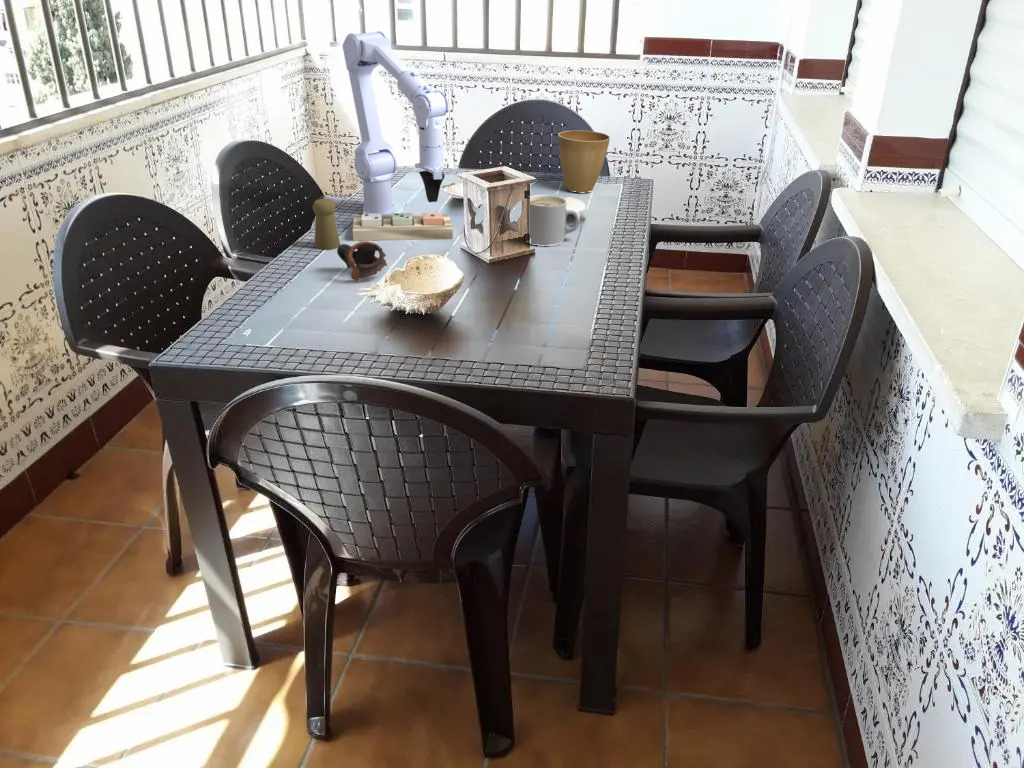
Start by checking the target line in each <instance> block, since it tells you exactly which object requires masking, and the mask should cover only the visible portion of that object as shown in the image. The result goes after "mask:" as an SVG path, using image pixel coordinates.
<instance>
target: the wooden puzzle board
mask: <svg viewBox="0 0 1024 768" xmlns="http://www.w3.org/2000/svg"><path fill="white" fill-rule="evenodd" d="M381 216H382V226H362V214H359V215H354V216H353V224H352V239H353V242H358V241H359V242H363V241H365V242H366V241H367V242H369V241H405V240H407V241H410V240H411V241H412V240H451V239H453V238H454V237H453V236H454V235H453V234H454V231H453V229H454V228H453V225H452V221H451V217H450V214H449V213H442V217H443V225H423V213H421V214H412V223H413V226H393V217H392V215H381Z"/></svg>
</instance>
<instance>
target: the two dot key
mask: <svg viewBox="0 0 1024 768" xmlns="http://www.w3.org/2000/svg"><path fill="white" fill-rule="evenodd" d="M361 215H362V226H382V216H381V214H363V213H361Z"/></svg>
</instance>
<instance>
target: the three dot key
mask: <svg viewBox="0 0 1024 768" xmlns="http://www.w3.org/2000/svg"><path fill="white" fill-rule="evenodd" d="M412 215H413V213H412V212H407V213H406V212H404V213H401V212H400V213H397V212H396V213H395V212H394V213H393V214H392V217H393V226H413V223H412Z"/></svg>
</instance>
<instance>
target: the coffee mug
mask: <svg viewBox="0 0 1024 768" xmlns="http://www.w3.org/2000/svg"><path fill="white" fill-rule="evenodd" d="M529 197H530V238H531V243H532V244H539V245H549V244H556V243H560V242H562V241H563V240H564V241H565V237H566V235H568V234H571V233H573V232H575V231H576V230H577V229H578V228H579V227H580V224H581V223H580V222H581V215H580V212H579V211H578V209H576V208H574V207H568V206H567V199H566V198H564V197H561V196H557V195H551V194H535V195H531V196H530V195H529ZM570 214H572V215H573V216H574V223H573V224H572V225H569V224H567V217H568V215H570Z"/></svg>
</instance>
